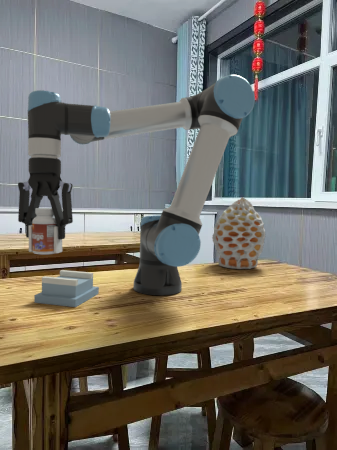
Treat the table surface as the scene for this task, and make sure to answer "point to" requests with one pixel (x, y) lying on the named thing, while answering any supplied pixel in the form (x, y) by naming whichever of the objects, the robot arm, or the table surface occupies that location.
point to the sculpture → (239, 236)
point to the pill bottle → (43, 231)
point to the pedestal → (67, 289)
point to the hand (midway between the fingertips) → (45, 251)
